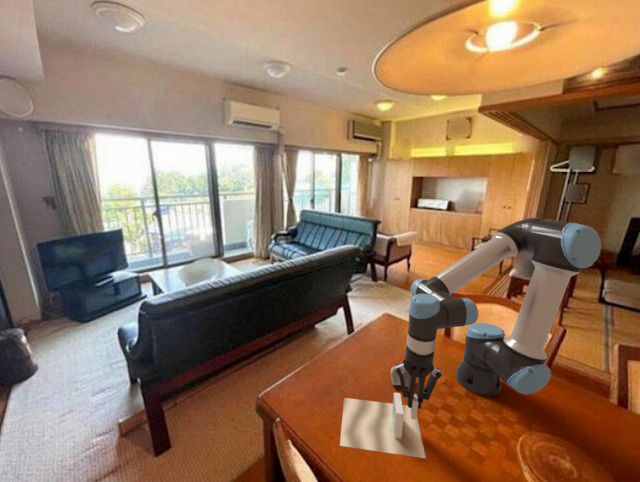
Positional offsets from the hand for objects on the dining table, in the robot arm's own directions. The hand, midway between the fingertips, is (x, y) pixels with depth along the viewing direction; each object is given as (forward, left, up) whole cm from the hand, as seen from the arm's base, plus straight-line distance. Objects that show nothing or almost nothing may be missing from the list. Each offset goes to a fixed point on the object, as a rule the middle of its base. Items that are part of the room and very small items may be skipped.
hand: (413, 415), depth 86 cm
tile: (+5, 0, -5) cm, 7 cm away
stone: (+2, -22, -6) cm, 23 cm away
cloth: (+10, 0, -6) cm, 11 cm away
